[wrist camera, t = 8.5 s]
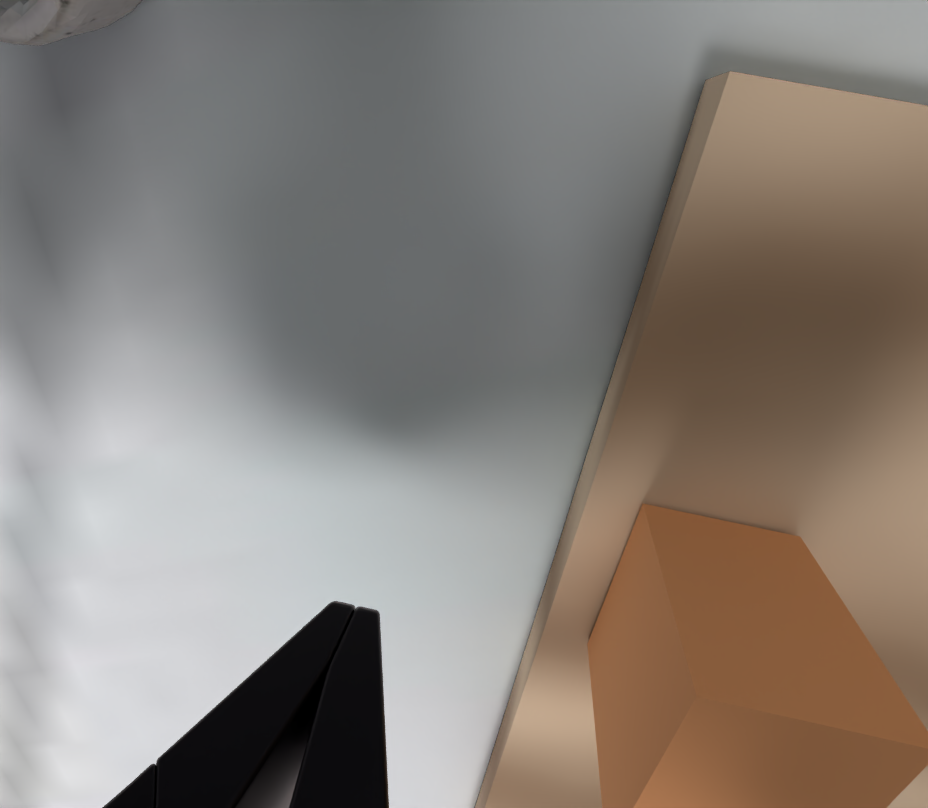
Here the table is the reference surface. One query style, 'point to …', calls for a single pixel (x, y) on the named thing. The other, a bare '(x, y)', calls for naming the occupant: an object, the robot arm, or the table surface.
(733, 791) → the tan rectangular block
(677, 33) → the table surface
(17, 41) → the ceramic mug
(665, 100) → the table surface
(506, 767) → the serving board
